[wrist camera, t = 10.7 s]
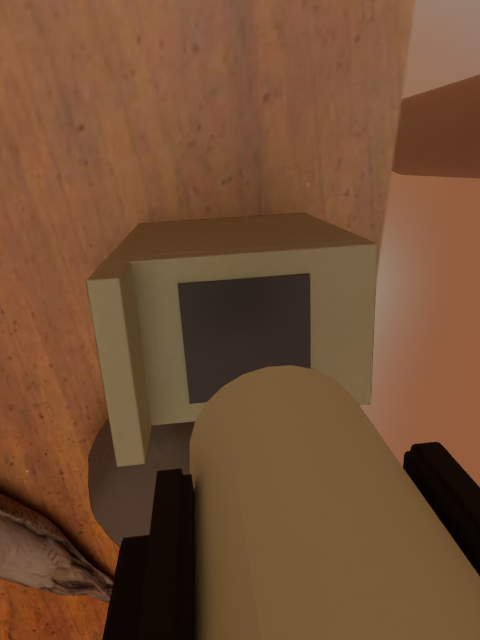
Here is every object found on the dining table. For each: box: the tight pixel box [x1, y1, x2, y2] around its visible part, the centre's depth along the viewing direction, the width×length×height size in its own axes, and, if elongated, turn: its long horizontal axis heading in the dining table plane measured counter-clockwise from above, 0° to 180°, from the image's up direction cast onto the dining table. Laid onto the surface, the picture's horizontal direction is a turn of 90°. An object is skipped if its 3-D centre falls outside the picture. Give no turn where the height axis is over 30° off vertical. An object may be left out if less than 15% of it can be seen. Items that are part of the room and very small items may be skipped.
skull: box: [88, 418, 195, 547], centre depth 34 cm, size 12×18×12 cm, turn 58°
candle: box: [190, 365, 480, 640], centre depth 9 cm, size 5×5×8 cm
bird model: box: [0, 493, 113, 603], centre depth 37 cm, size 29×6×5 cm, turn 46°
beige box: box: [86, 213, 378, 467], centre depth 26 cm, size 12×8×17 cm, turn 93°
